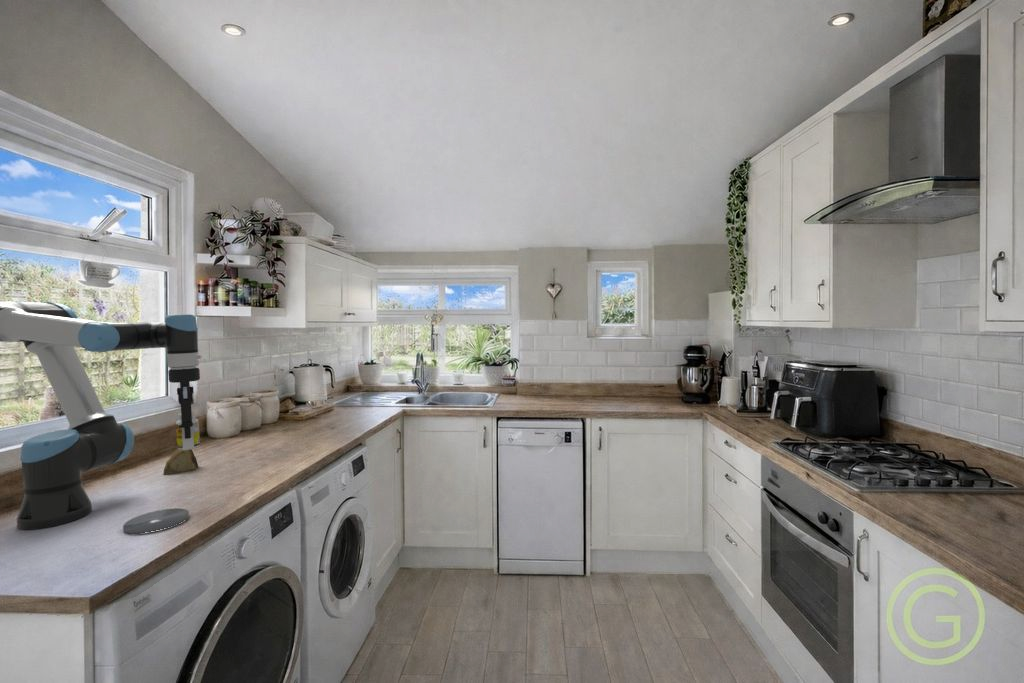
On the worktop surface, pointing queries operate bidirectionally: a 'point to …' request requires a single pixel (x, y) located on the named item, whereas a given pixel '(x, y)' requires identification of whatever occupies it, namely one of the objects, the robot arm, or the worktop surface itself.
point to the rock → (181, 462)
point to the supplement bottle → (195, 432)
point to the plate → (155, 520)
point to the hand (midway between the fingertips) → (188, 446)
